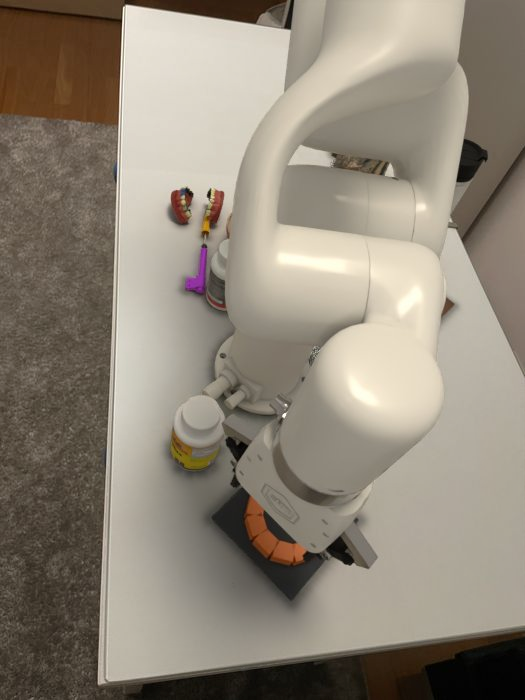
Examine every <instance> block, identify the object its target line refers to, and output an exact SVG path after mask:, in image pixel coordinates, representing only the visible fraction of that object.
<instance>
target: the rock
mask: <svg viewBox="0 0 525 700" xmlns="http://www.w3.org/2000/svg"><path fill="white" fill-rule="evenodd" d="M390 165H391V163H389V162H387V161H382V160H375V159H369V158H362V157H356V156H349V155H343V154H337V156H336V157H335V162H334V166H333V168H340V169H347V170H354V171H360V172H363V173H369V174H376V175H383V176H386V173H387V170H388V168H389V166H390Z"/></svg>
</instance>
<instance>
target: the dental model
mask: <svg viewBox="0 0 525 700" xmlns="http://www.w3.org/2000/svg"><path fill="white" fill-rule="evenodd" d="M194 195H195V193H194V192H193V191H192V190H191V188H189V187H188V185H184V186H182V187H181V188H180V189H175V190H172V192H171V193H170V202H171V207H172V210H173V212H174V215H175V217H176V219H177V221H178V222H179V224H180V225H184V224H186V223H187V222H188V221H189V220H190V219H191V217H192V212H191V209H189V207H188V206H189V205H190V204H192V201H193V198H194ZM206 198H207V199H208V202H209V203H208V204H207V207H206V208H205V211H204V216H207V217H208V220H209V221H210V223H212V224H215V225H216V224H218V222H219V219H220V216H221V213H222V209H223V205H224V200H225V191H223V190H218V189H217V188H214V187H209V190H207V194H206Z"/></svg>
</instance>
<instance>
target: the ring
mask: <svg viewBox="0 0 525 700" xmlns="http://www.w3.org/2000/svg"><path fill="white" fill-rule="evenodd" d="M263 513H264V509H263V508H262V507H261V506H260V505H259V504H258V503H257V502H256V501H255V499H254V498H253V497H252V496H251V495H250V497H249V499H248V503H247V507H246V512H245V516H244V518H246V519H245V521H244V522H245V525H246V529H247V532H248V535H249V539H250V540H254V541H253V543H252V544H253V545H254V546H255V547H256V548H257V549H258V550H259V551H260V552H261V553H262V554H263V555H264V556H265V557H266V558H268V556H269V555H270V554H271V556H270V561H274V562H278V563H282V564H285V565H290V564H291V563H292V565H296V564H300V563H303V562H305V561H304V560H303V557H302V556H303V554H304V553H305V552H306V551H307V550H306V549H304V548H303V547H302V546H300V545H299V544H298V543H295V544H291V543H287V542H283V541H280V540H278V539H277V538H276V537H275V536H274V535H273V534H272V533H271V532H270V531H269V530H268V529H267V526H266V523H265V520H264V517H263ZM315 557H316V556H315ZM312 559H313V558H312Z"/></svg>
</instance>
